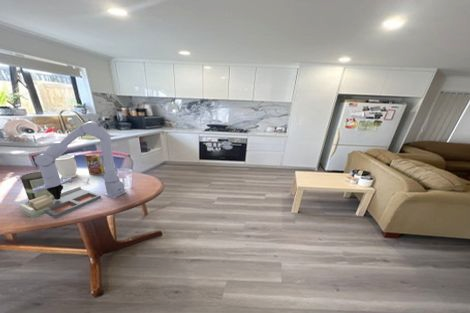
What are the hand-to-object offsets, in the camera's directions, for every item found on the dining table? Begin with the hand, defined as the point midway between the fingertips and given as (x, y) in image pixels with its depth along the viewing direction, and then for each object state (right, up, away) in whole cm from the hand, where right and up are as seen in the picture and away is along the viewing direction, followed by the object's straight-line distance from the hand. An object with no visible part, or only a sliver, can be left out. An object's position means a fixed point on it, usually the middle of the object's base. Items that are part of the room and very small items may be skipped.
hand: (57, 198), depth 90 cm
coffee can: (-15, -1, +6) cm, 16 cm away
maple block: (-2, -2, -5) cm, 6 cm away
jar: (-26, +8, +32) cm, 42 cm away
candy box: (-11, +10, +39) cm, 42 cm away
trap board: (+5, -3, 0) cm, 6 cm away
